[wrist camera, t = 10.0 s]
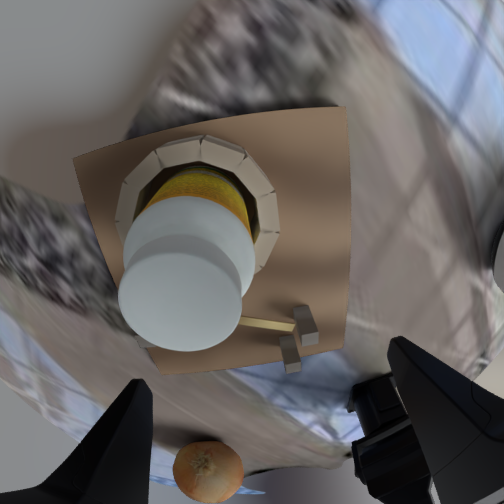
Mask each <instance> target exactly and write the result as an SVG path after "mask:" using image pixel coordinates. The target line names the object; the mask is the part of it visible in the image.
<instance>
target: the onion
mask: <svg viewBox="0 0 504 504" xmlns="http://www.w3.org/2000/svg"><path fill="white" fill-rule="evenodd" d="M173 475H174V479H175V482H176V484H177V485H178V487H179V489H180V490H181V491H182V492H183V493H184V494H185V495H186V496H188V497H189V498H191V499H193V500H196V501H199V502H203V503H220V502H223V501H225V500H226V499H228V498H230V497H231V496H232V495H233V494H234V493H235V492H236V491H237V490H238V489H239V488H240V486H241V485H242V481H243V476H244V470H243V465H242V461H241V459H240V457H239V455H238V454H237V453H236V452H235V451H234V450H233V449H232V448H230V447H229V446H227V445H225V444H224V443H222V442H218V441H204V442H194V443H190V444H188V445H187V446H184V447H183V448H182V449H181V450H180V451H179V452H178V454H177V455H176V458H175V461H174V464H173Z"/></svg>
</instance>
